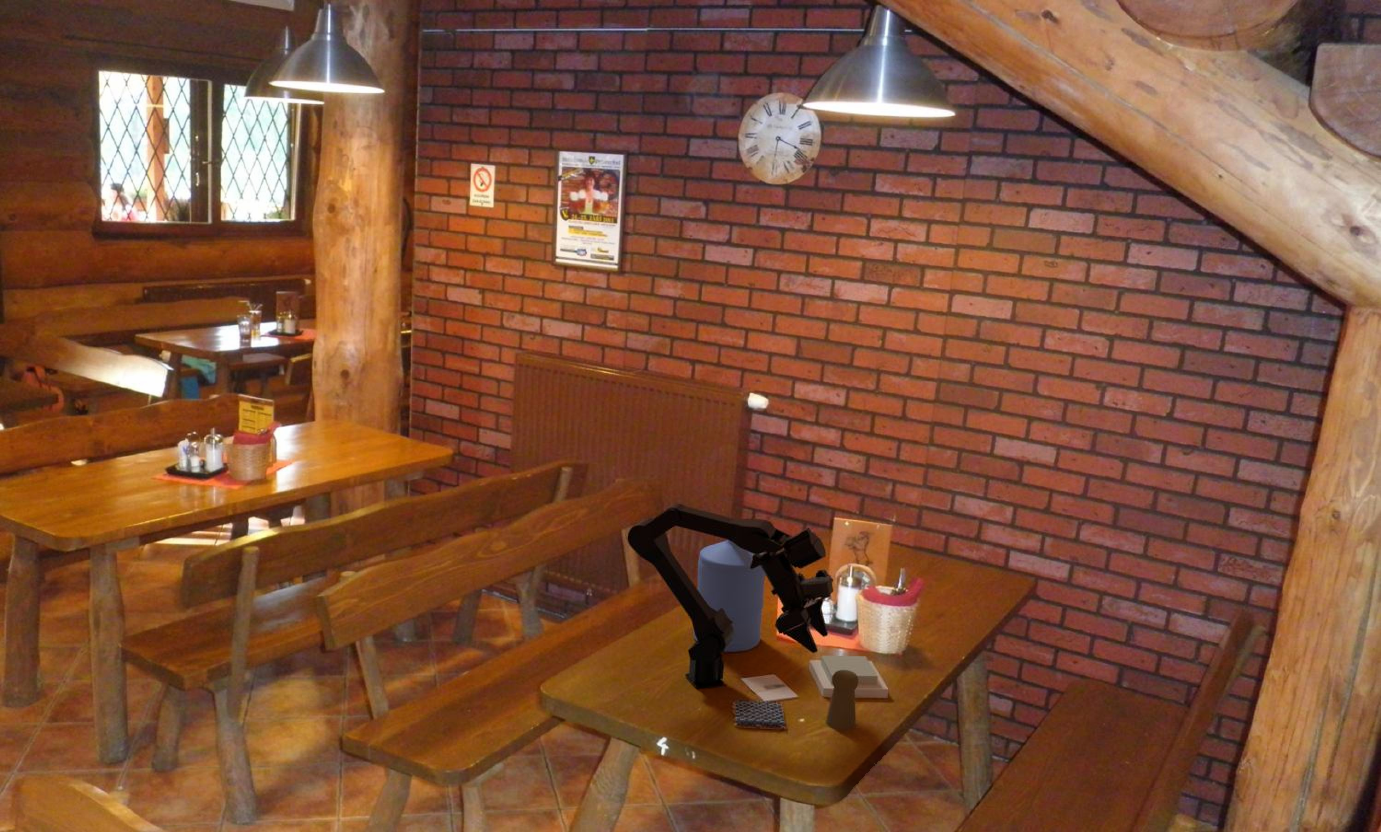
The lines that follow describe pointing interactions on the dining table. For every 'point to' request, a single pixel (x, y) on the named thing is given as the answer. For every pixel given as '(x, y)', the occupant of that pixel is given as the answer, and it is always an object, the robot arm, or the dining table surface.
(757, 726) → the woven mat
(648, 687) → the dining table surface
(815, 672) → the tower base
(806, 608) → the robot arm
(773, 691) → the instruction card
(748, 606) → the water jug
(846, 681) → the brown tapered knobbed post
